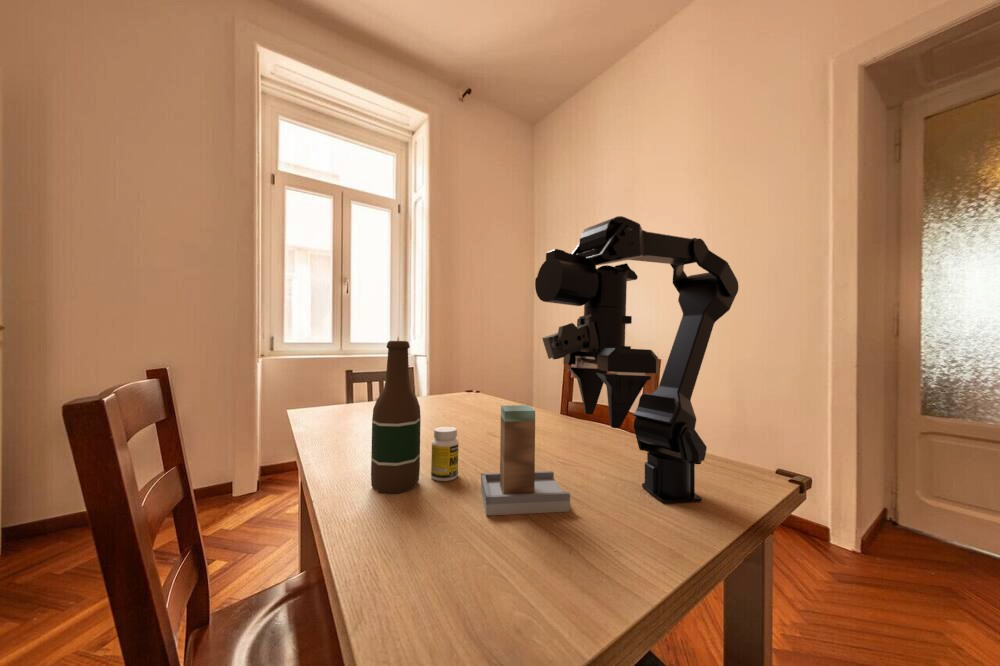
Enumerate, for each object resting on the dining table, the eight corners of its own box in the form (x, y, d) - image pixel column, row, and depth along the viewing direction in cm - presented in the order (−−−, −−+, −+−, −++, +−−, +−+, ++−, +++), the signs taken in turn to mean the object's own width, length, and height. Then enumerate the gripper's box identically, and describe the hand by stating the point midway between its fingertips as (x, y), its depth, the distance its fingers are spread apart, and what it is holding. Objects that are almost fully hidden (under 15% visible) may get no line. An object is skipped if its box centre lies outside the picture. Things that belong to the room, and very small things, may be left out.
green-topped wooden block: (528, 484, 57) (528, 405, 57) (534, 497, 52) (535, 410, 53) (499, 485, 56) (500, 405, 56) (503, 498, 52) (504, 411, 52)
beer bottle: (417, 474, 65) (419, 341, 65) (421, 491, 57) (424, 341, 58) (371, 479, 62) (374, 340, 63) (370, 497, 55) (373, 340, 55)
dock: (552, 486, 60) (552, 471, 60) (569, 511, 51) (570, 493, 51) (480, 489, 59) (481, 473, 59) (486, 515, 50) (486, 497, 50)
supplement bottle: (452, 483, 61) (453, 433, 61) (426, 480, 62) (427, 431, 62) (461, 473, 66) (462, 426, 66) (437, 470, 67) (437, 425, 67)
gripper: (534, 312, 59) (531, 407, 59) (569, 297, 41) (564, 436, 40) (599, 316, 61) (596, 409, 60) (662, 302, 42) (658, 437, 41)
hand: (601, 420), depth 50 cm, fingers open, 9 cm apart
